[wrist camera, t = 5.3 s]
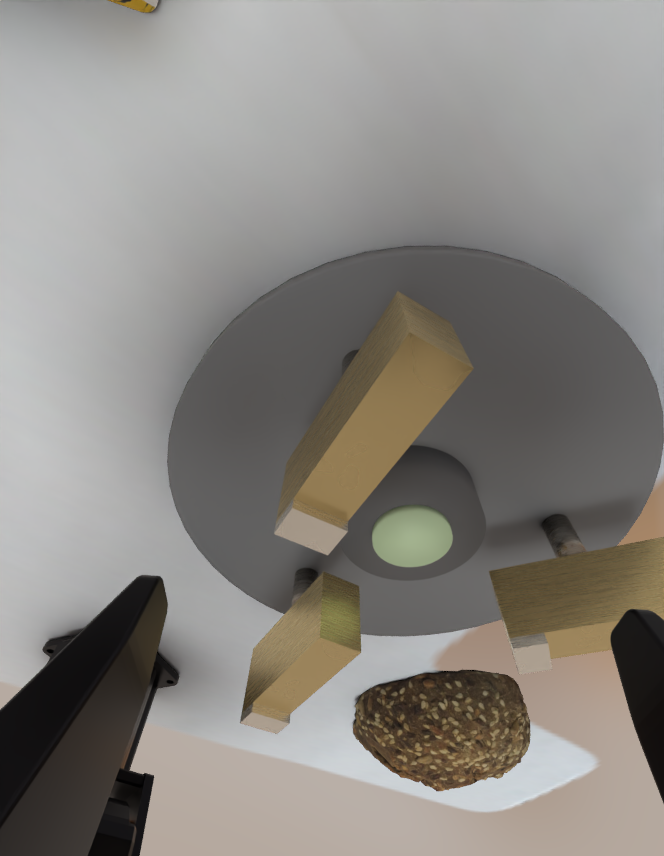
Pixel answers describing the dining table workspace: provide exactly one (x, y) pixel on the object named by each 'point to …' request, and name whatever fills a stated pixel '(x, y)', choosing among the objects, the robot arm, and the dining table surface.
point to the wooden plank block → (369, 421)
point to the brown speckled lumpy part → (445, 727)
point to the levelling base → (421, 435)
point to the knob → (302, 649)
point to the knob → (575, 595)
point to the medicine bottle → (138, 4)
